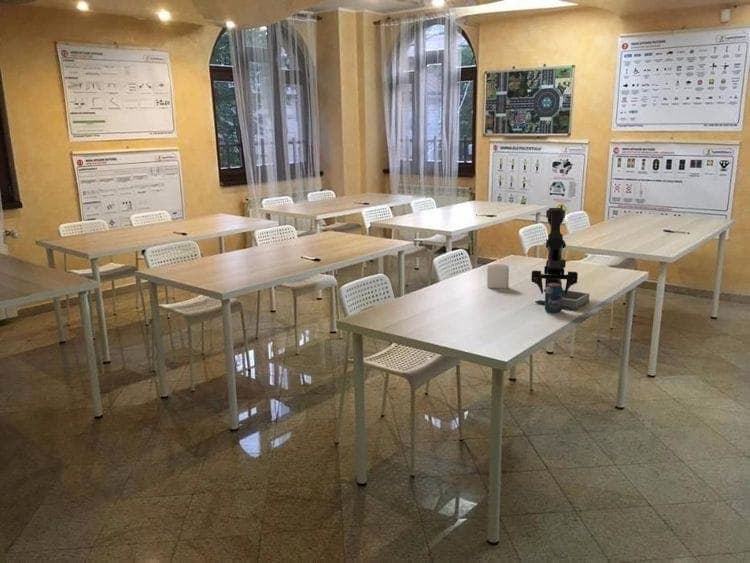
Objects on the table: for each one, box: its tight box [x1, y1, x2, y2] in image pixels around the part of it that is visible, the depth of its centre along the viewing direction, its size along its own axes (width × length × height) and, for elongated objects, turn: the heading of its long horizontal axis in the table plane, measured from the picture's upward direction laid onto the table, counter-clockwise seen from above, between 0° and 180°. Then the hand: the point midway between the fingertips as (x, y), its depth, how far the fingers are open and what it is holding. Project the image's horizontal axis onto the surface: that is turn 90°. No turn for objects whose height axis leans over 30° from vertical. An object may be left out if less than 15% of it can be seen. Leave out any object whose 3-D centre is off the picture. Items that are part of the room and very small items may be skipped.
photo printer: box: [486, 262, 510, 290], centre depth 304 cm, size 10×4×12 cm, turn 70°
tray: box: [562, 289, 590, 311], centre depth 276 cm, size 14×14×4 cm
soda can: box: [544, 282, 564, 315], centre depth 265 cm, size 7×7×12 cm
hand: (553, 294), depth 264 cm, fingers open, 9 cm apart
